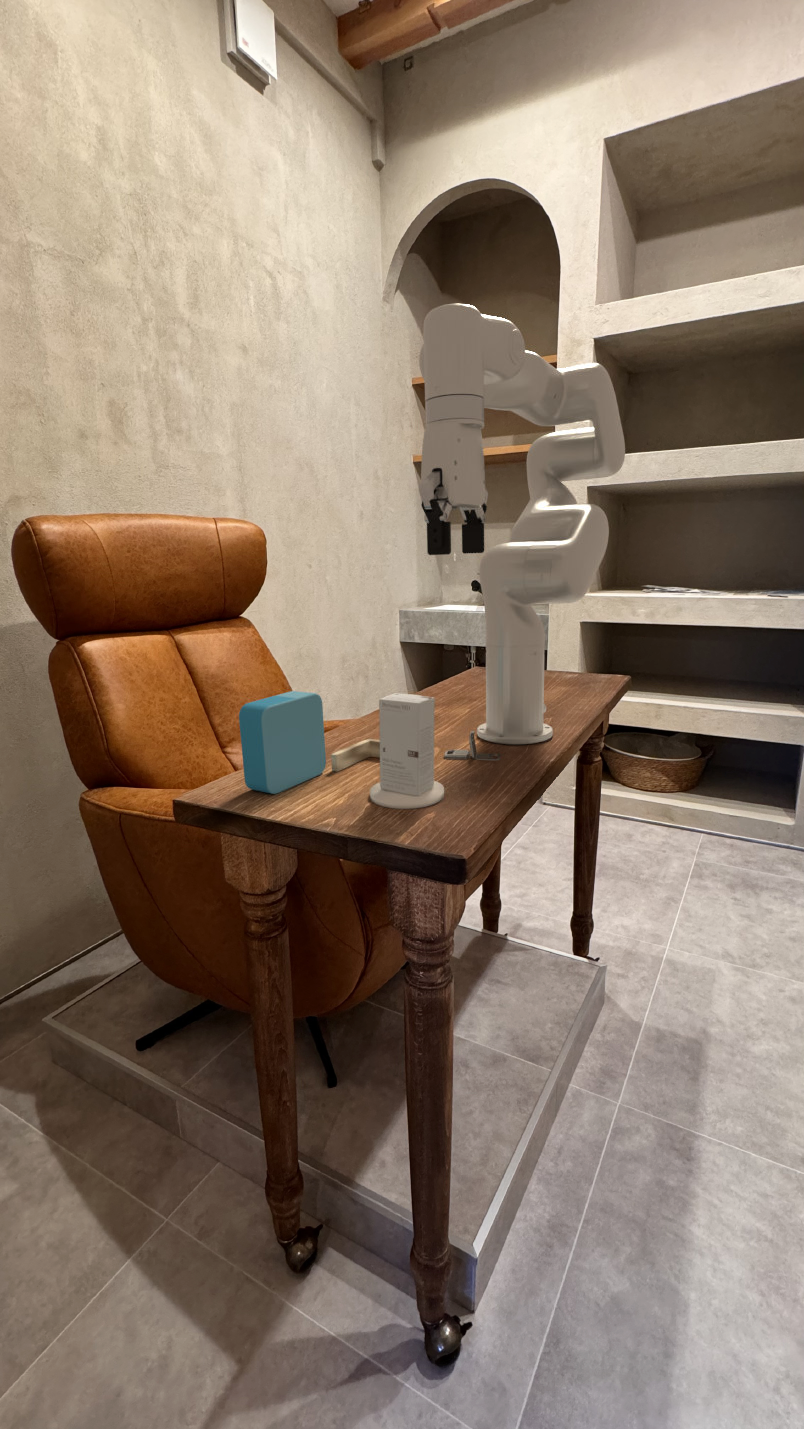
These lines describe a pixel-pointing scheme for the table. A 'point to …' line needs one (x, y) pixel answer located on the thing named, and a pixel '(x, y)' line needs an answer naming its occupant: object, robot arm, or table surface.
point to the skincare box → (406, 743)
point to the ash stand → (355, 754)
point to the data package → (282, 741)
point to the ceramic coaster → (406, 797)
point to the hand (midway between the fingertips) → (456, 553)
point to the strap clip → (466, 753)
